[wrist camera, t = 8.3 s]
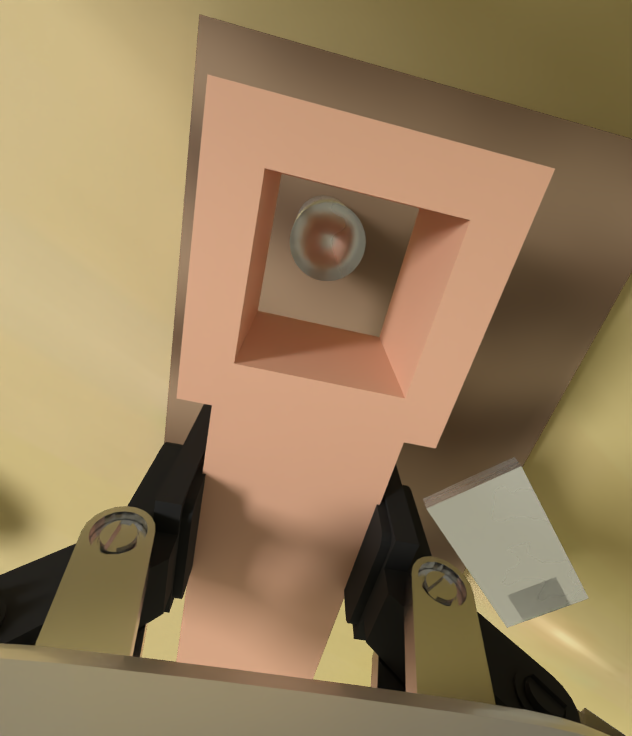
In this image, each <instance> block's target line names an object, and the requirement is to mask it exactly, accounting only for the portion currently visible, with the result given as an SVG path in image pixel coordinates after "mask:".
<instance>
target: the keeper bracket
mask: <svg viewBox="0 0 632 736" xmlns="http://www.w3.org/2000/svg"><path fill="white" fill-rule="evenodd" d="M423 500H424V503H425V506H426V509H427V510H428V512H429V513H430V515H431V516H432V518H433V519H434V521H435V522H436V524H437V525H438V527H439V528H440V530H441V531H442V533H443V534H444V535H445V537H446V538H447V540H448V541H449V543H450V544H451V546H452V547H453V549H454V550H455V552H456V553H457V555H458V556H459V558H460V559H461V561H462V562H463V563H464V565H465V566H466V568H467V569H468V571H469V572H470V574H471V575H472V577H473V578H474V580H475V581H476V583H477V584H478V586H479V587H480V589H481V590H482V591H483V593H484V594H485V596H486V597H487V599H488V600H489V602H490V603H491V605H492V606H493V608H494V609H495V611H496V612H497V614H498V615H499V617H500V618H501V619H502V621H503V622H504V624H505V625H506V627H507V628H508V627H510V626H513V625H516V624H519V623H521V622H524V621H527V620H530V619H533V618H535V617H538V616H541V615H544V614H547V613H549V612H552V611H555V610H558V609H560V608H563V607H566V606H569V605H572V604H574V603H577V602H580V601H583V600H586V599H588V596H587V594H586V592H585V590H584V588H583V586H582V584H581V582H580V580H579V578H578V576H577V574H576V572H575V570H574V568H573V566H572V564H571V562H570V561H569V559H568V557H567V555H566V553H565V551H564V549H563V547H562V545H561V543H560V541H559V539H558V537H557V535H556V533H555V531H554V529H553V527H552V525H551V523H550V521H549V519H548V517H547V515H546V513H545V512H544V510H543V508H542V506H541V504H540V502H539V500H538V498H537V496H536V494H535V492H534V490H533V488H532V486H531V484H530V482H529V480H528V478H527V476H526V474H525V472H524V470H523V468H522V466H521V465H520V464H519V462H518V461H517V459H516V458H515V457H513V458H511V459H509V460H507V461H504V462H502V463H500V464H498V465H496V466H493V467H491V468H489V469H487V470H485V471H482V472H480V473H478V474H476V475H474V476H471V477H469V478H467V479H465V480H463V481H460V482H458V483H456V484H454V485H452V486H449V487H447V488H445V489H443V490H441V491H438V492H436V493H434V494H432V495H430V496H427V497H425V498H423Z"/></svg>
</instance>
